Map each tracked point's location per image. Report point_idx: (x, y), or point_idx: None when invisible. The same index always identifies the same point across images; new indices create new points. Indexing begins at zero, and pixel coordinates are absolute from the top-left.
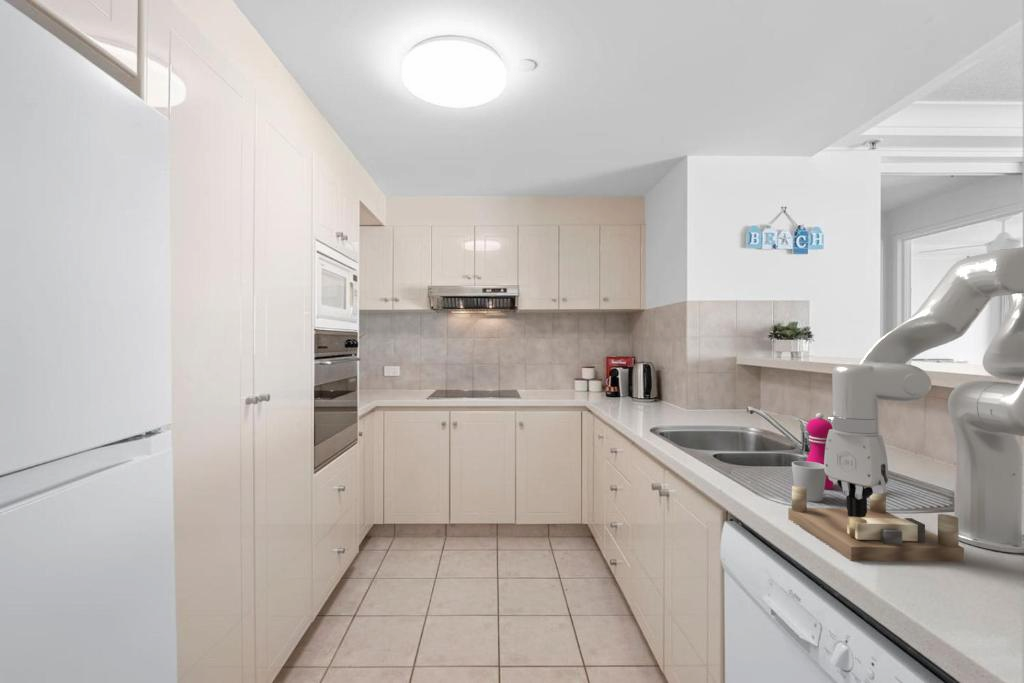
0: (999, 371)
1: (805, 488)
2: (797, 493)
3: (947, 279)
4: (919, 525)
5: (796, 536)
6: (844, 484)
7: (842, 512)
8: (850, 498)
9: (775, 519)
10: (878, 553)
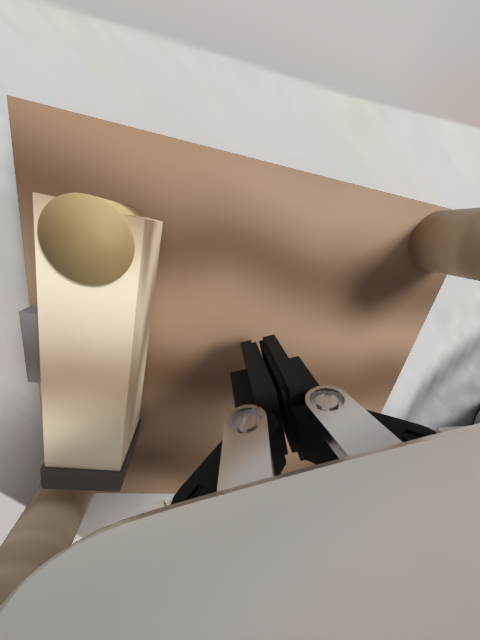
0: None
1: None
2: None
3: None
4: (42, 468)
5: (297, 94)
6: (372, 443)
7: (355, 384)
8: (285, 385)
9: (452, 159)
10: None
